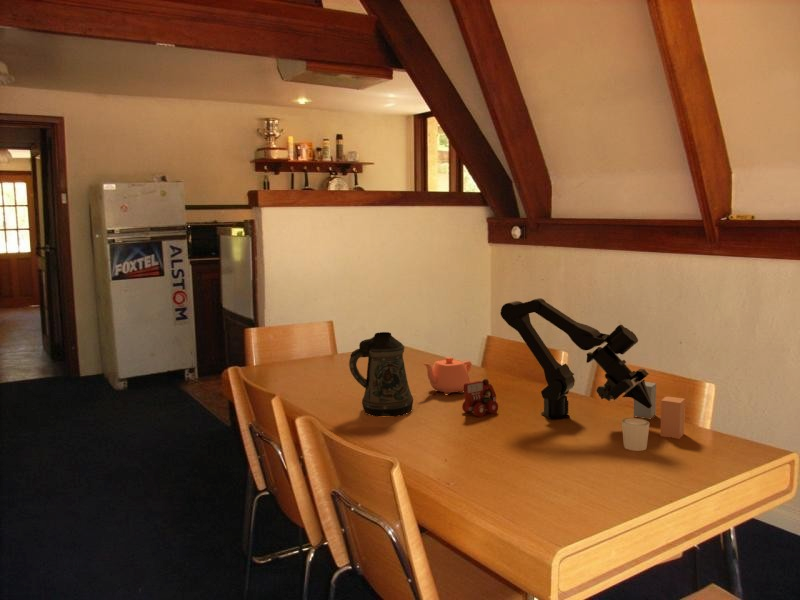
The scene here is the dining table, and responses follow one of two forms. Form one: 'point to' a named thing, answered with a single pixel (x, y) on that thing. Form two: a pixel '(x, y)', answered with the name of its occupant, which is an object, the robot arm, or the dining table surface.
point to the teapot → (448, 375)
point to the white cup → (635, 433)
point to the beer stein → (383, 376)
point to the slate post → (641, 409)
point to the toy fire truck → (479, 398)
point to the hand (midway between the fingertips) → (650, 407)
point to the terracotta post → (672, 417)
